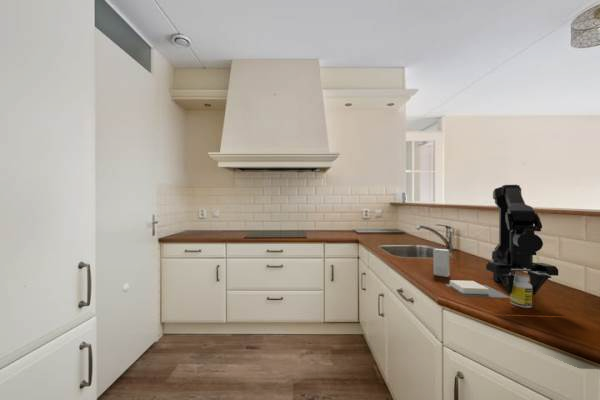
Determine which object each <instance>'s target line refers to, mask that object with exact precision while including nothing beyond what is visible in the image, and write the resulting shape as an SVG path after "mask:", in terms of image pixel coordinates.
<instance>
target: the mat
mask: <svg viewBox="0 0 600 400" xmlns="http://www.w3.org/2000/svg"><path fill="white" fill-rule="evenodd" d="M481 285H482V286H484V287H486V288H488V289H489V294H488V295H478V294H462V293H461V292H459V291H457V290H456V289H454V288H453V287H451V286H450V283H445V286H447V287H448V288H450V289H452V290H453V291H455V292H456V293H458V294H460V295H461V296H462V297H468V298H470V297H472V298H473V297H474V298H475V297H476V298H503V299H505V298H508V299H510V296H508V295H506V294H505V293H504V292H501V291H499V290H496V289H495V288H493V287H490V286H488V285H487V284H481Z"/></svg>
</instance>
